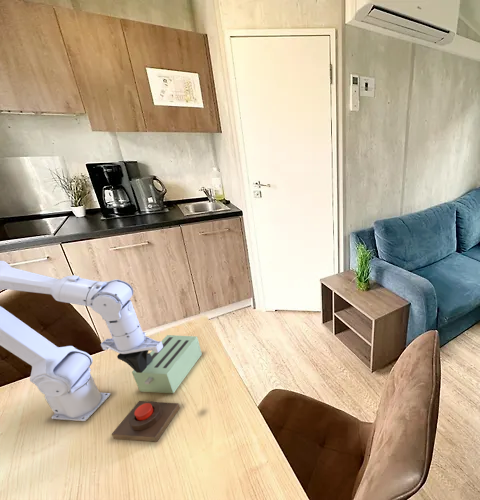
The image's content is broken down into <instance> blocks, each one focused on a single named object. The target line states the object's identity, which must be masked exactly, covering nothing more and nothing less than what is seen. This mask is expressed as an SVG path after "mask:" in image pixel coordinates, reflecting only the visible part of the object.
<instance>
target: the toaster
mask: <svg viewBox="0 0 480 500" xmlns="http://www.w3.org/2000/svg"><path fill="white" fill-rule="evenodd" d="M161 342H162V345H163V348H162V349H161V350H160V351H159V352H158V353H155V352H154V351H153V350H151V352H149V353H150V354H151V357H152V362H151V363H150V364H149V365H147V368H146V369H145V370H144V371H143V372H142V373H137V372H136V371H135V370H134V369H132V372H131V374H132V376H133V379H134V381H135V383H136V386H137V388H138V390H139V392H143V393H160V394H175V392H176V391H177V389H178V388H179V387H180V385H181V384H182V383H183V382H184V380H185V378H186V377H187V376H188V374H189V373H190V371H191V370H192V369H193V367H195V365H196V363H197V362H198V360H199V359H200V358H201V357H202V355H203V353H202V349H201V346H200V345H201V344H200V342H199V338H198V336H193V335H175V334H166V336H165V337H164V338H163V339H162V340H161Z"/></svg>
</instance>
